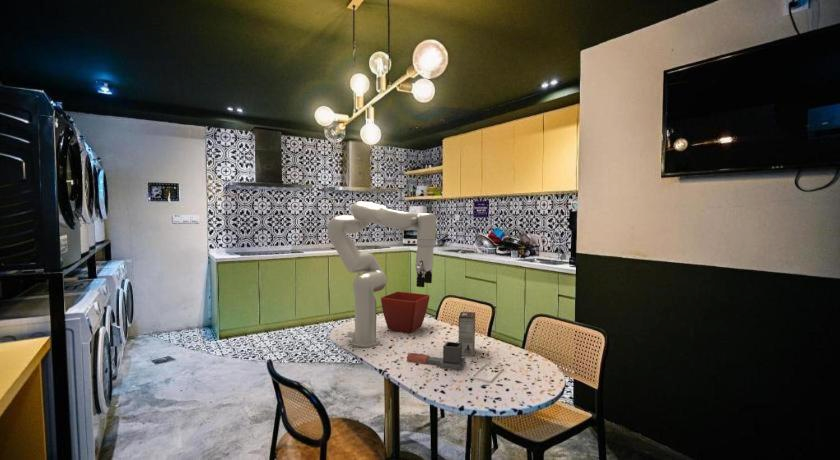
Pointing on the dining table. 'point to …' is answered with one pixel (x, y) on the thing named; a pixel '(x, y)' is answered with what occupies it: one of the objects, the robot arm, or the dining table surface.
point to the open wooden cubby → (452, 352)
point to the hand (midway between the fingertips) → (424, 284)
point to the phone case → (486, 379)
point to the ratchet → (434, 361)
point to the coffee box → (467, 332)
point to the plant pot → (404, 311)
